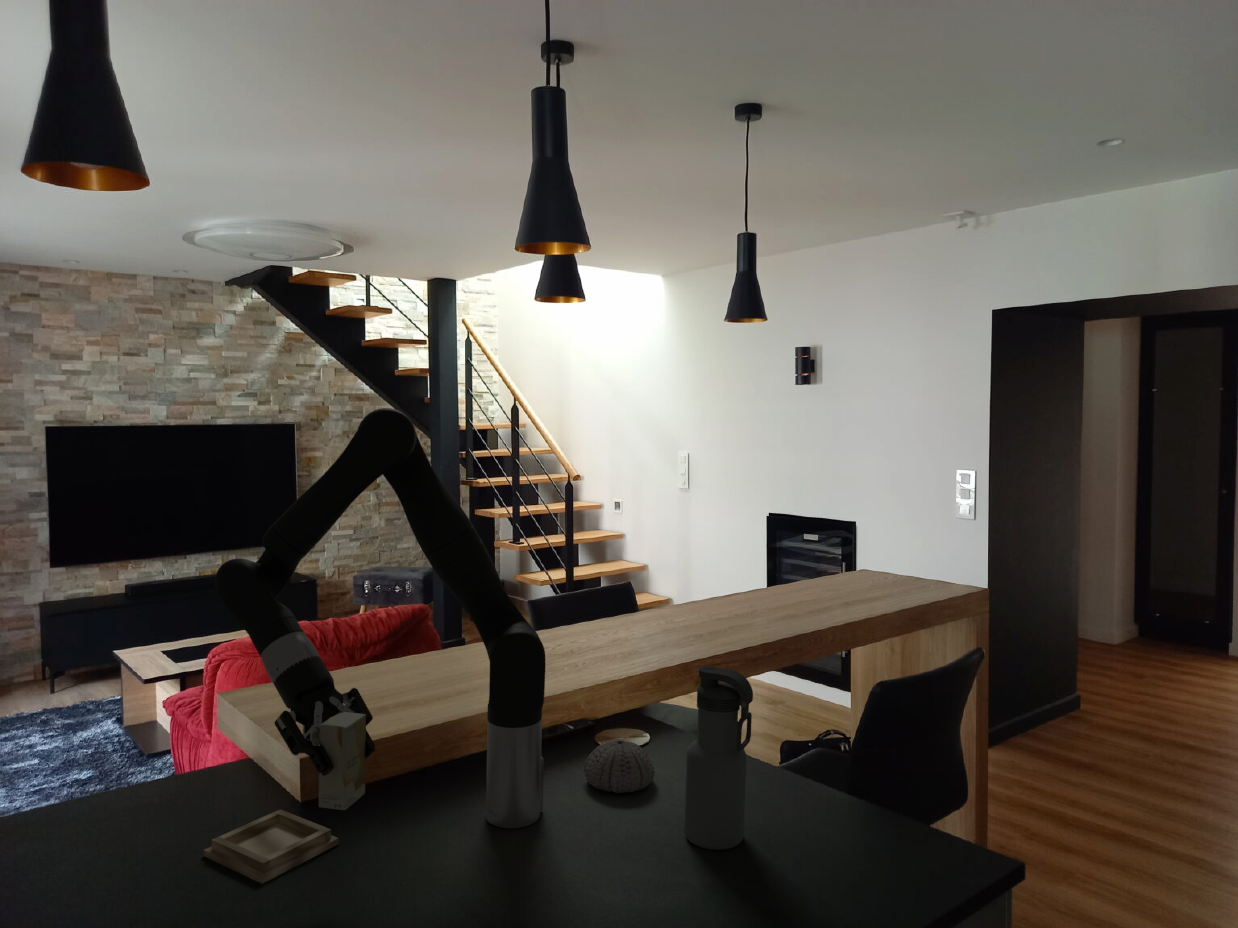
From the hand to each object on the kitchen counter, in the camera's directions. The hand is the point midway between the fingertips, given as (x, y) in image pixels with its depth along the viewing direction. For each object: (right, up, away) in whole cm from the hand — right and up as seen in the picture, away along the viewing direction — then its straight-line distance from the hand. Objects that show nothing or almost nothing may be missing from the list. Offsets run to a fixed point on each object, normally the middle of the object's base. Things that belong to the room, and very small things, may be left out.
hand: (350, 762), depth 127 cm
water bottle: (+55, -19, +18) cm, 61 cm away
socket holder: (-15, -17, +10) cm, 25 cm away
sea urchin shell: (+39, -17, +38) cm, 57 cm away
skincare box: (-1, -6, +1) cm, 6 cm away
